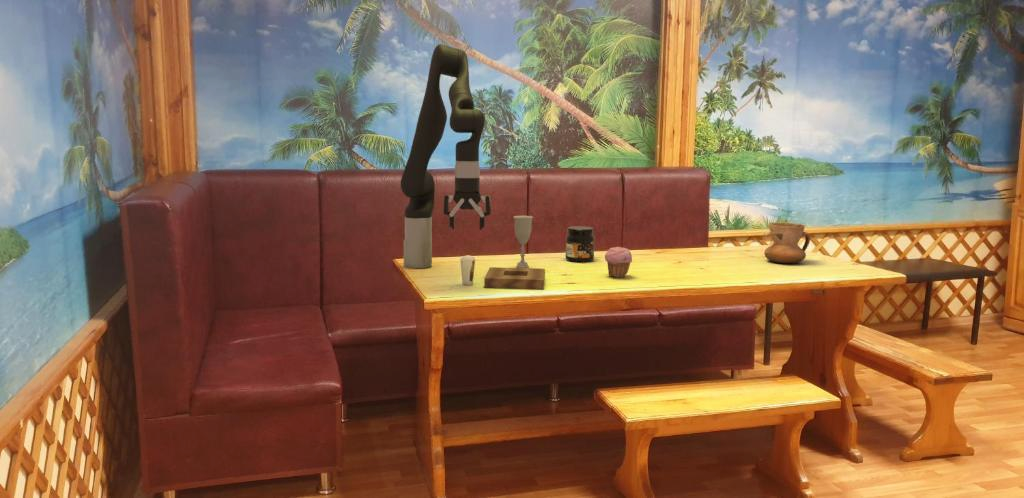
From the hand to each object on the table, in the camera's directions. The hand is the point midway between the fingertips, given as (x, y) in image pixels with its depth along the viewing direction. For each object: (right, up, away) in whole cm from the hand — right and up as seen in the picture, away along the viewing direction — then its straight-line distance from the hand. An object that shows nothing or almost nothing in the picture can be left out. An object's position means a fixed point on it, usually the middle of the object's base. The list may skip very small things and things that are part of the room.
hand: (467, 229), depth 244 cm
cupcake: (+49, -15, +19) cm, 54 cm away
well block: (+15, -17, +7) cm, 23 cm away
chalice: (+17, -13, +29) cm, 37 cm away
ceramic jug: (+115, -11, +50) cm, 126 cm away
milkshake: (0, -17, +3) cm, 18 cm away
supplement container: (+39, -11, +48) cm, 62 cm away
